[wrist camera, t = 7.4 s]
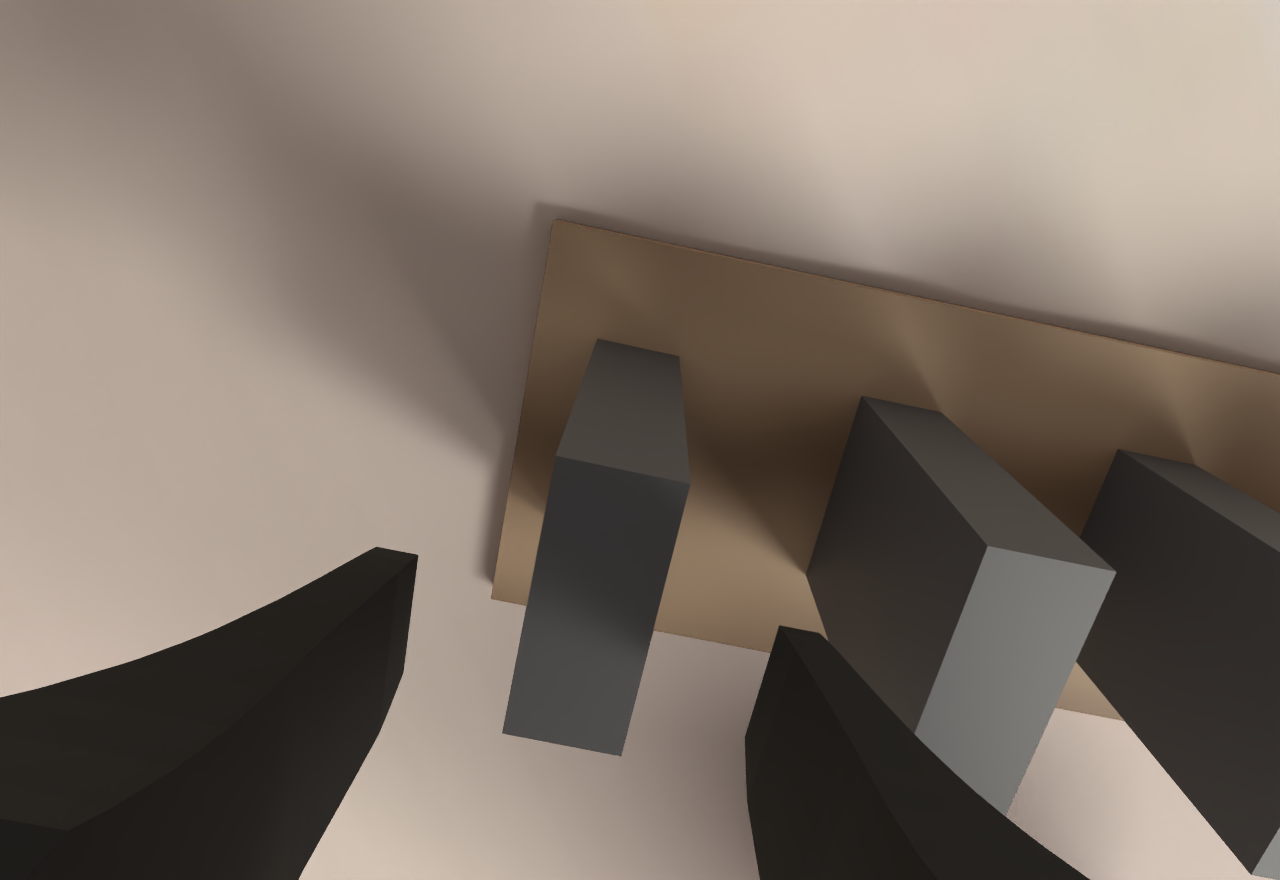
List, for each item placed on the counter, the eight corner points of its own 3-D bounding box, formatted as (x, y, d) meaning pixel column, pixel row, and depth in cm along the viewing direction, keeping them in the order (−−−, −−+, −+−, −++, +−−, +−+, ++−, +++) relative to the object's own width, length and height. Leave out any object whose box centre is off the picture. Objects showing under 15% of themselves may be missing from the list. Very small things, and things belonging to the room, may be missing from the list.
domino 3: (1195, 464, 20) (1522, 653, 12) (1115, 635, 22) (1360, 895, 14) (1117, 448, 20) (1399, 628, 12) (1043, 622, 21) (1251, 874, 14)
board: (1765, 833, 24) (1792, 849, 23) (495, 587, 22) (491, 599, 22) (2024, 533, 21) (2063, 544, 20) (556, 219, 19) (552, 221, 18)
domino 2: (941, 411, 20) (1116, 572, 12) (879, 589, 21) (999, 828, 14) (861, 395, 19) (987, 546, 12) (805, 575, 21) (885, 807, 14)
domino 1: (679, 355, 19) (690, 483, 12) (635, 540, 21) (621, 755, 13) (597, 338, 19) (555, 455, 12) (559, 524, 21) (502, 733, 13)
